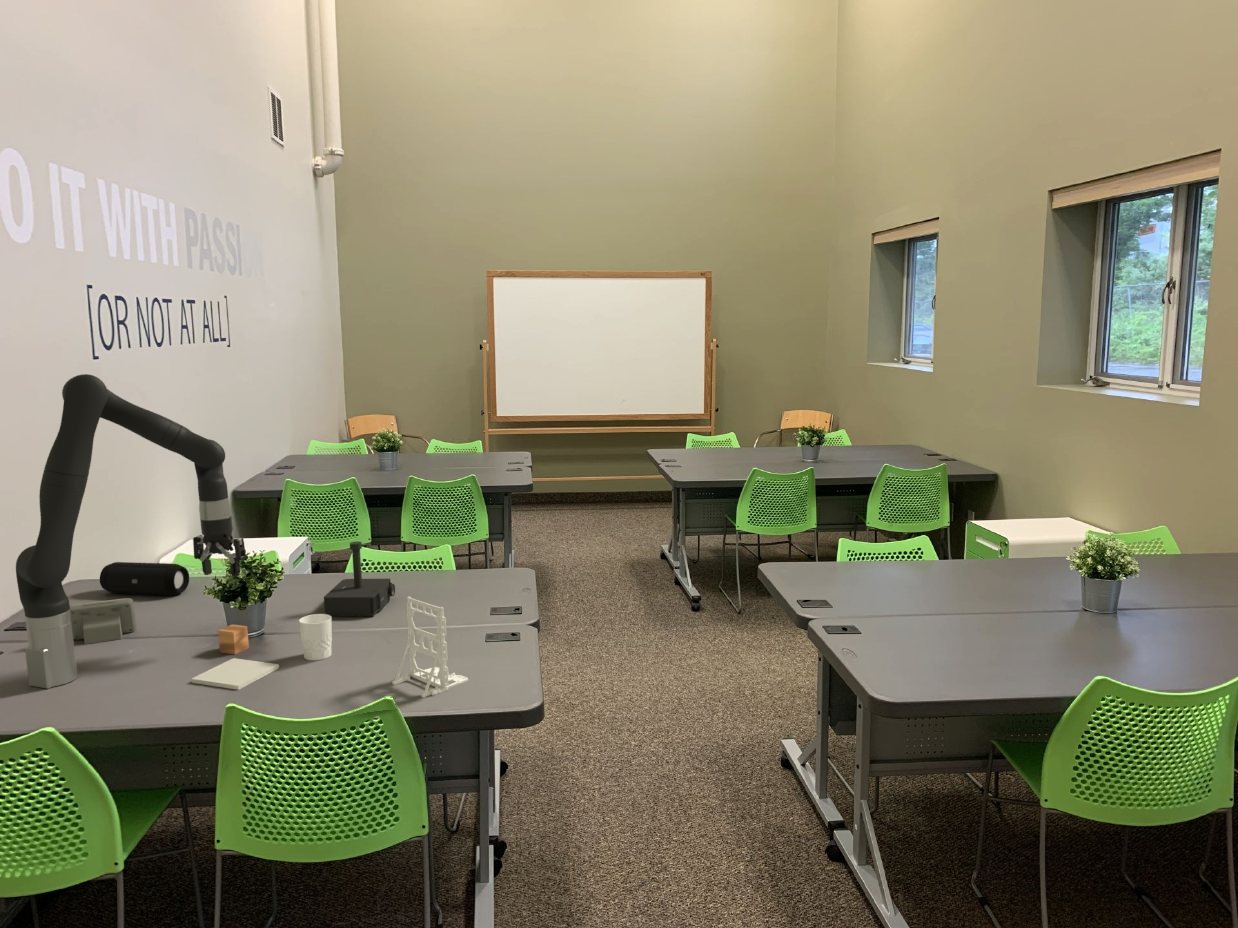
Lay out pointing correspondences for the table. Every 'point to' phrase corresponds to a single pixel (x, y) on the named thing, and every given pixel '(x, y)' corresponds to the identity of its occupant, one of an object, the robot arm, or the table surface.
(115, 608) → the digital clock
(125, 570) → the portable speaker
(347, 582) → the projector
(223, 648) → the orange block
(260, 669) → the pad
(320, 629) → the white cup
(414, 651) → the film strip holder
